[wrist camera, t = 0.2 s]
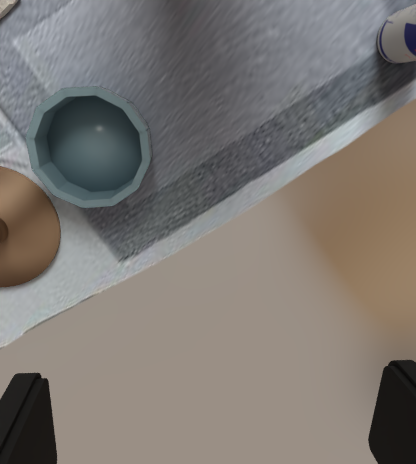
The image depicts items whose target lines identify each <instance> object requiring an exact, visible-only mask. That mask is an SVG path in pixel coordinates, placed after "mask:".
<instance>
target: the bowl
mask: <svg viewBox="0 0 416 464" xmlns="http://www.w3.org/2000/svg"><path fill="white" fill-rule="evenodd" d="M26 143H27V148H28V153H29V158H30V163H31V168H32V169H34V170H32V171H33V172H34V173H35V174H36V175H37V177H38V178H39V179H40V180H41V181H42V183H43V184H44V185H45V186H46V187H47V189H48V190H49V191H50V192H51V193H52V195H53V194H54V196H56V197H58V198H60V199H63V200H65V201H67V202H70V203H72V204H74V205H77V206H79V207H81V208H91V207H105V206H113V205H115V204H117V203H118V202H120V201H121V200H123V199H124V198H126V197H127V196H129V195H130V194H132V193H133V192H135V191H136V190H137V189H138V188H139V185H140V183H141V181H142V179H143V177H144V175H145V172H146V170H147V168H148V166H149V164H150V161H151V158H152V149H151V139H150V129H149V126H148V125H147V123H146V122H145V120H144V119H143V117H142V116H141V114H140V113H139V111H138V110H137V108H136V107H135V106H134V104H133V103H132V102H131V101H129V100H127V99H125V98H123V97H121V96H119V95H117V94H115V93H113V92H111V91H109V90H107V89H106V88H101V87H97V86H93V87H73V88H62V89H61V90H59V91H58V92H57V93H55V94H54V95H53V96H51V97H50V98H48V99H47V100H46V101H44V102H43V103H41V104H40V105H39V106H37V108H36V110H35V112H34V115H33V118H32V121H31V123H30V126H29V129H28V132H27V134H26Z"/></svg>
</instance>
